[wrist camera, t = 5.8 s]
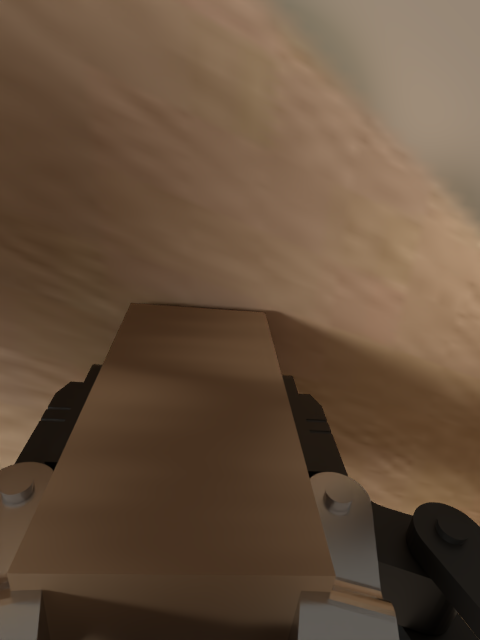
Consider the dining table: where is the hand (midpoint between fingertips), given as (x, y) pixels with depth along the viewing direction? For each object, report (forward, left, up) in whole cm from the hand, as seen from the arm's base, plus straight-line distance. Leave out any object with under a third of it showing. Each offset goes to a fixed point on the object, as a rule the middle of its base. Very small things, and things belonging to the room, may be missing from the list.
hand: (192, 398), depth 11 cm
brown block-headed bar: (0, -9, -2) cm, 9 cm away
